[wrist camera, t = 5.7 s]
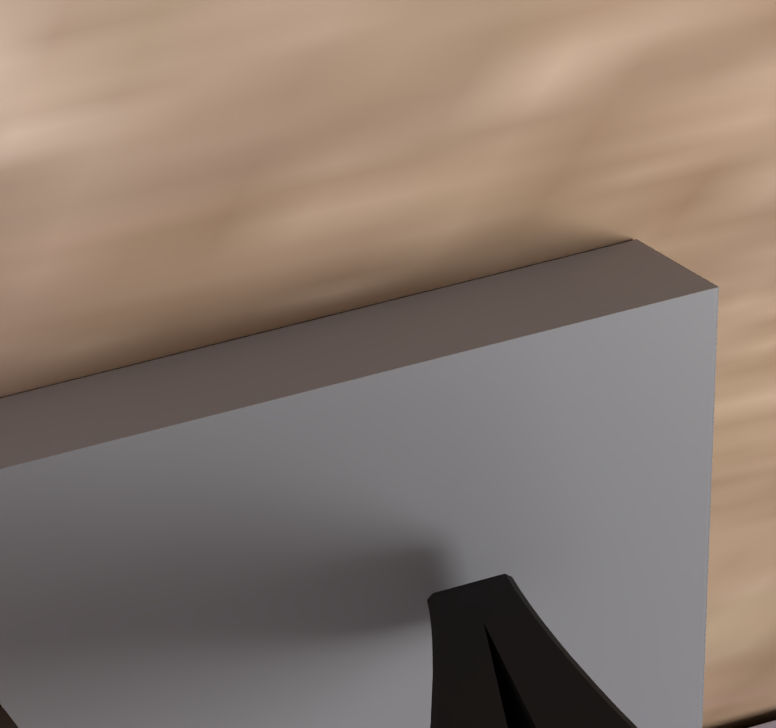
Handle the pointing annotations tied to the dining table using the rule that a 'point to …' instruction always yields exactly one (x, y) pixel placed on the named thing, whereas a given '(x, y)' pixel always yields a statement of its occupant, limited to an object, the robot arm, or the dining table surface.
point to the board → (368, 505)
